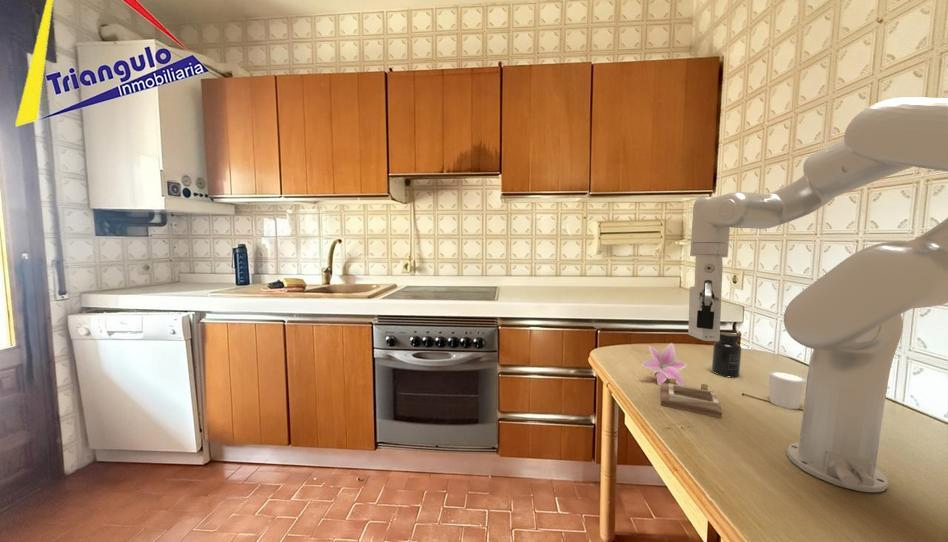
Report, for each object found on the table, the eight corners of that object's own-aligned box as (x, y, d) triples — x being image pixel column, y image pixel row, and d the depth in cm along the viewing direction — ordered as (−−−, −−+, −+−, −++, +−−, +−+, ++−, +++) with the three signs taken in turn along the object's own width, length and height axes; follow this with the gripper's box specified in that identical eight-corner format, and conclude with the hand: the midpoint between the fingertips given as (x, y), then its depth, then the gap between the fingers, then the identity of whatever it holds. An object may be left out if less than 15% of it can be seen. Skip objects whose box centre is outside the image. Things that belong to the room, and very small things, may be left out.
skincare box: (720, 341, 85) (724, 289, 84) (701, 341, 85) (704, 289, 84) (704, 334, 91) (707, 286, 90) (685, 334, 91) (689, 285, 90)
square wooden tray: (721, 418, 82) (722, 404, 82) (661, 405, 87) (662, 392, 87) (714, 396, 93) (715, 384, 93) (661, 386, 98) (662, 375, 98)
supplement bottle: (738, 372, 111) (742, 333, 110) (739, 379, 105) (744, 338, 104) (711, 367, 115) (714, 329, 113) (711, 374, 109) (715, 334, 108)
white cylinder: (810, 411, 86) (813, 383, 86) (776, 408, 88) (780, 380, 87) (791, 399, 93) (794, 372, 92) (760, 396, 94) (763, 369, 94)
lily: (632, 383, 103) (645, 360, 98) (637, 356, 112) (650, 334, 107) (676, 403, 99) (693, 381, 94) (678, 374, 108) (694, 352, 103)
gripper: (733, 251, 77) (726, 335, 78) (724, 250, 92) (718, 320, 94) (691, 250, 81) (686, 330, 82) (689, 249, 96) (684, 317, 97)
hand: (703, 324), depth 88 cm, fingers closed on skincare box, 7 cm apart
